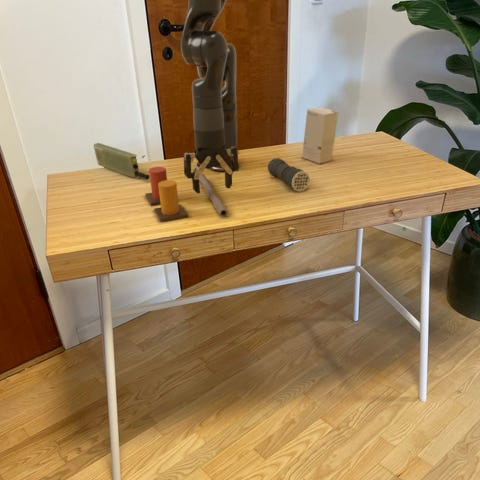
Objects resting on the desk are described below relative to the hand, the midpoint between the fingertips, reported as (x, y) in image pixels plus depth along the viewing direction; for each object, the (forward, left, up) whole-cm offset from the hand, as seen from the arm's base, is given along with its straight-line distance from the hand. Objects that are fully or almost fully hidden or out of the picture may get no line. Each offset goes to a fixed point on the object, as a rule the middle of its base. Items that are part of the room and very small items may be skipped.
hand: (212, 189), depth 123 cm
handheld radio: (-31, -19, -2) cm, 36 cm away
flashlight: (-2, +23, -2) cm, 23 cm away
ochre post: (+6, -13, -2) cm, 15 cm away
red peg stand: (-5, -13, -2) cm, 14 cm away
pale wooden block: (-17, +41, -2) cm, 44 cm away
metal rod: (-1, 0, -2) cm, 2 cm away
